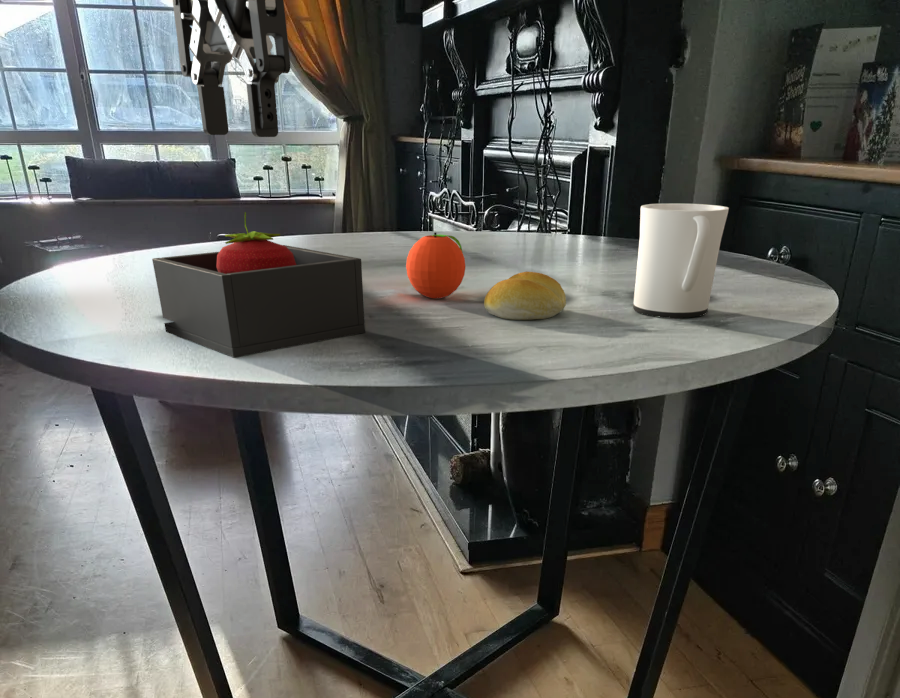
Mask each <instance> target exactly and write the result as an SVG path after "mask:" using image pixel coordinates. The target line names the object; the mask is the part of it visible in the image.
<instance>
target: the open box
mask: <svg viewBox="0 0 900 698" xmlns="http://www.w3.org/2000/svg"><path fill="white" fill-rule="evenodd" d="M283 245H284V246H286V247H287V248H288V249H289V250H290V251H291V252H292V253H293V256H294V259H295V262H296V265H293V266H285V267H276V268H268V269H260V270H252V271H244V272H235V273H227V274H225V273H221V272H218V270H217V267H216V266H217V255H218V253H219V252H220V251H212V252H202V253H201V252H200V253H194V254H193V253H192V254H184V255H183V254H182V255H174V256H163V257H154V258H153V257H152V259H151V260H152V265H153V272H154V277H155V281H156V282H155V283H156V287H157V292H158V298H159V305H160V308H161V314H162V318H163V319H165V320H168V321H170V322H164V323H163V324H164V330H165V332H166V334H170V335H172V336H175V337H178V338H180V339H183V340H186V341H189V342H192V343H194V344H197V345H199V346H201V347H205V348H207V349H210V350H212V351H215V352H218V353H220V354H223V355H227V356H229V357H232V358H238V357H245V356H249V355H254V354H255V355H256V354H259V353H265V352H270V351H275V350H276V351H277V350H281V349H285V348H290V347H291V348H292V347H297V346H301V345H306V344H312V343H317V342H322V341H327V340H333V339H337V338H343V337H344V338H345V337H348V336H354V335H359V334H365V333H366V325H365V323H366V321H365V320H366V319H365V305H364V304H365V303H364V287H363V270H362V269H363V268H362V258H360V257H354V256H349V255H343V254H337V253H331V252H325V251H319V250H315V249H308V248H303V247H298V246H291V245H287V244H283Z"/></svg>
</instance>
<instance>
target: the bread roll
mask: <svg viewBox="0 0 900 698" xmlns="http://www.w3.org/2000/svg"><path fill="white" fill-rule="evenodd" d="M566 296H567V295H566V293H565V290H564V289H563V286H562V285H561V283H559V281H557V280H556V279H555V278H553V277H551V276H550V275H548V274H545V273H542V272H535V271H524V272H519V273H516V274H513V275H511V276H510V277H509V278H507V279H503V280H500V281H498V282H496V283H495V284H494V285H493V286H491V287H490V289H489V290H488V291H487V293H486V294H485V297H484V299H483V300H484V301H483V305H484V309H485V311H487V312H488V313H489V314H490V315H493V316H495V317H497V318H500V319H506V320H518V321H519V320H520V321H529V320H530V321H531V320H545V319H547V320H548V319H549V318H553V317H555V316H556V315H558V314H560V313H561V312H563V311H564V309H565V308H566V306H567V297H566Z"/></svg>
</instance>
